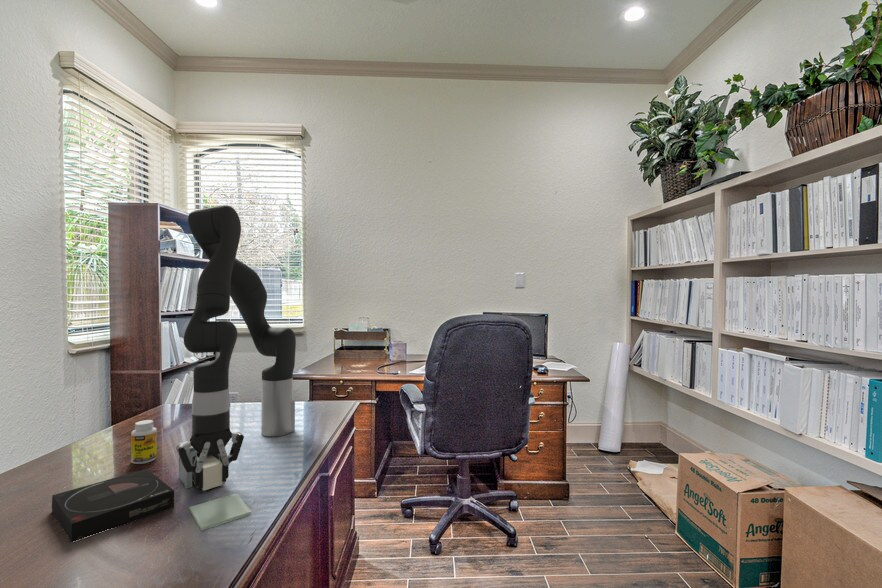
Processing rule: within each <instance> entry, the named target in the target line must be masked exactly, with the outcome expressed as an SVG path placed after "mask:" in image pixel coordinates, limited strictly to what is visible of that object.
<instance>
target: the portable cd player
mask: <svg viewBox="0 0 882 588" xmlns="http://www.w3.org/2000/svg"><path fill="white" fill-rule="evenodd" d="M170 508H171V509H174V508H175V490H174V489H173V488H172V487H171V486H169V485H168V484H167V483H166V482H164V481H163V480H162V479H160V478H159V477H158V476H156V475H155V474H154V473H153V472H151V471H150V470H149V469H148V468H145V469H140V470H137V471H134V472H131V473H127V474H122V475H120V476H116V477H113V478H109V479H105V480H102V481H98V482H95V483H91V484H88V485H84V486H80V487H76V488H73V489H70V490H66V491H63V492H59V493H55V494H52V496H51V512H52V514H53V516H54V517H55V519H56V521H57V520H58V521H57V523H58V524H59V523H60V524H59V525H60V527H61V526H62V527H61V529H62V528H63V529H64V530H63V529H62V530H63V532H64V531H65V532H66V533H65V532H64V533H65V535H66V534H67V535H68V537H69V538H68V537H67V538H68V540H69V539H70V540H71V541H70V540H69V541H70V543H71V542H73V541H76V540H79V539H82V538H84V537H87V536H90V535H93V534H96V533H99V532H102V531H105V530H107V529H111V528H114V529H116V528H115V527H117V528H119V527H122V526H124V524H125V525H128V524H131V523H133V521H134V522H136V521H139V520H141V519H144V518H147V517H150V516H153V515H156V514H160V513H161V512H165V511H167V510H169V509H170ZM135 520H136V521H135ZM130 522H131V523H130ZM127 523H128V524H127ZM121 525H122V526H121ZM118 526H119V527H118ZM111 530H112V529H111ZM105 532H106V531H105ZM102 533H103V532H102ZM67 535H66V536H67Z"/></svg>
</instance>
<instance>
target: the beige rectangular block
mask: <svg viewBox="0 0 882 588" xmlns="http://www.w3.org/2000/svg"><path fill="white" fill-rule="evenodd" d="M194 462H195V456H194V457H192V464H194ZM201 471H202V472H203V488H200V489H201V490H202V491H203V492H204V491H207V490H209V489H214V488H217V487H219V486H223V482H222V462H220V461H219V460H218V459H216V458H215V457H214V456H213V455H209V456H206V459H205V462H204V463H203V467H202V470H201ZM192 482H194V472H192Z"/></svg>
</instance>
